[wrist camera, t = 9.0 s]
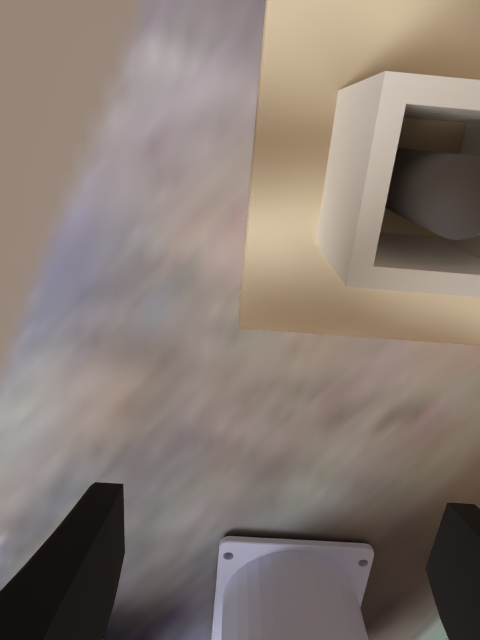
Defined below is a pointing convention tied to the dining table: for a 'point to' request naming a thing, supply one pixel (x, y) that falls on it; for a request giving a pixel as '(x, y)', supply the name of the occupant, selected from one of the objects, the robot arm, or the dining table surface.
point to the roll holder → (312, 157)
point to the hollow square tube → (374, 180)
